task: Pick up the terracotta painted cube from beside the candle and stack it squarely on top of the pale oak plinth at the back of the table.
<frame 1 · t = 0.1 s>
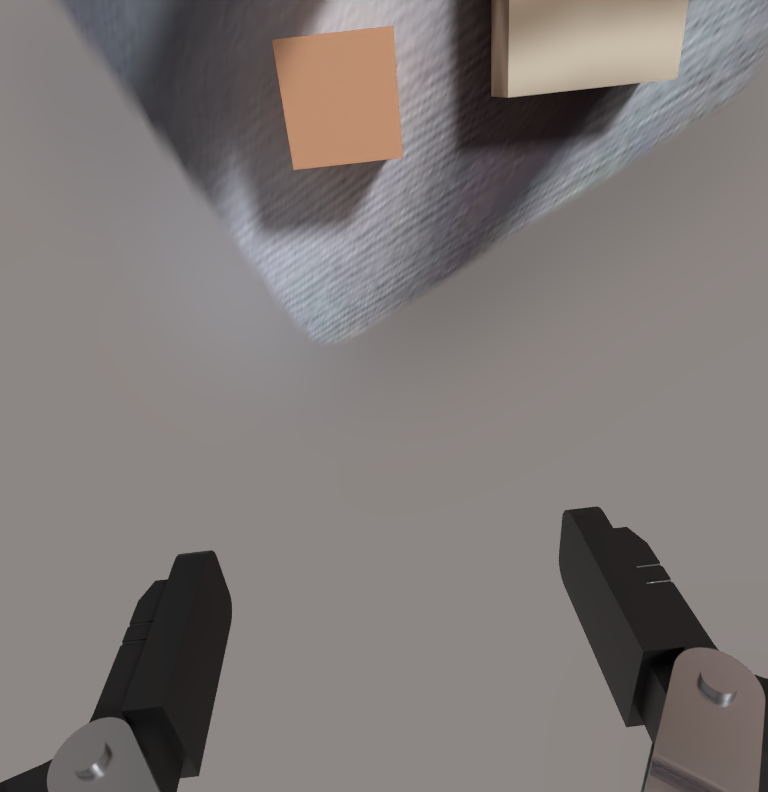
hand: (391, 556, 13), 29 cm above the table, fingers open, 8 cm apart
terracotta cube: (341, 99, 33), on the table
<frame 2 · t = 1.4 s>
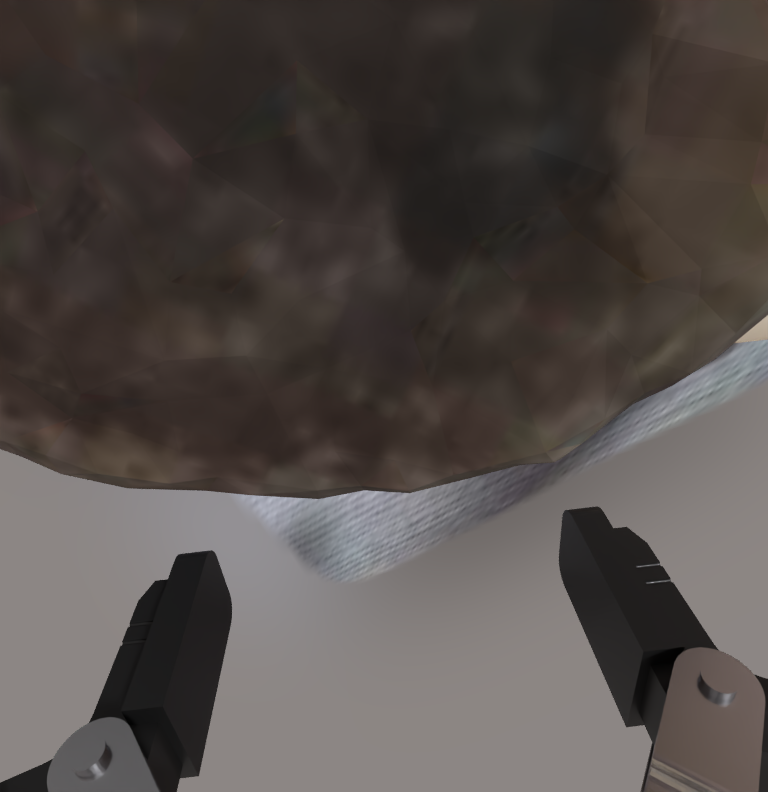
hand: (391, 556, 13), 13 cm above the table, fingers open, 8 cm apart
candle: (335, 21, 18), on the table
oak plinth: (702, 194, 22), on the table
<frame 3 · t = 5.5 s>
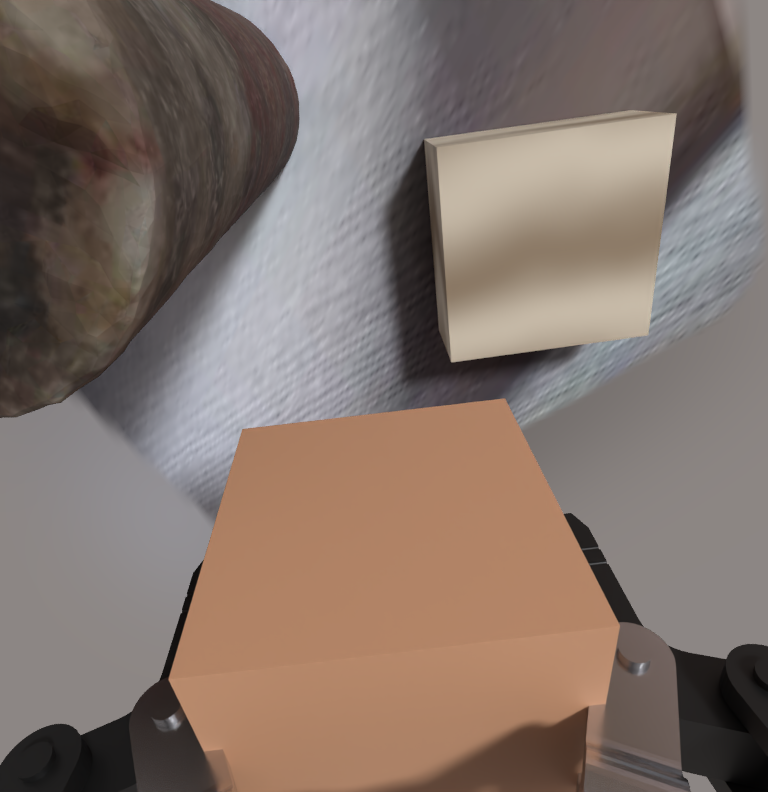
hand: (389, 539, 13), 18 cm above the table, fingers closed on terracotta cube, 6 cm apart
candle: (213, 109, 24), on the table
terracotta cube: (386, 513, 14), point 17 cm above the table, touching gripper
oak plinth: (526, 229, 27), on the table
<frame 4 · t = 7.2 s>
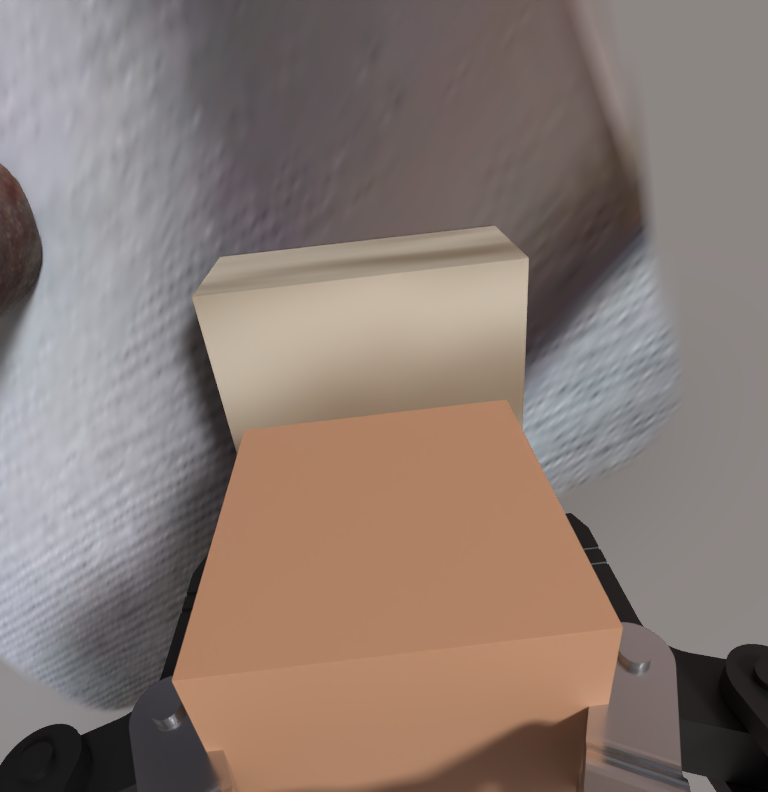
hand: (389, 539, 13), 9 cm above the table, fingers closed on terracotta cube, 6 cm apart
terracotta cube: (388, 513, 14), point 8 cm above the table, touching gripper
oak plinth: (372, 364, 21), on the table
when the fingers open (6 cm above the table, at t = 8.4 s): terracotta cube stays where it is, resting on oak plinth.
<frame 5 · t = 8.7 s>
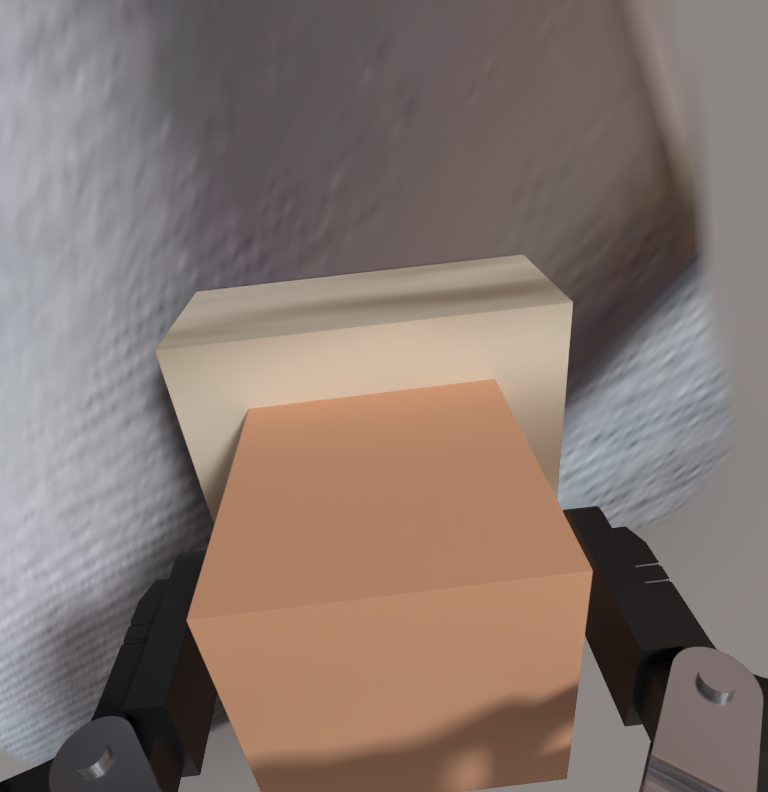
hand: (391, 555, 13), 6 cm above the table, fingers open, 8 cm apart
terracotta cube: (384, 489, 15), point 4 cm above the table, touching oak plinth
oak plinth: (376, 411, 18), on the table
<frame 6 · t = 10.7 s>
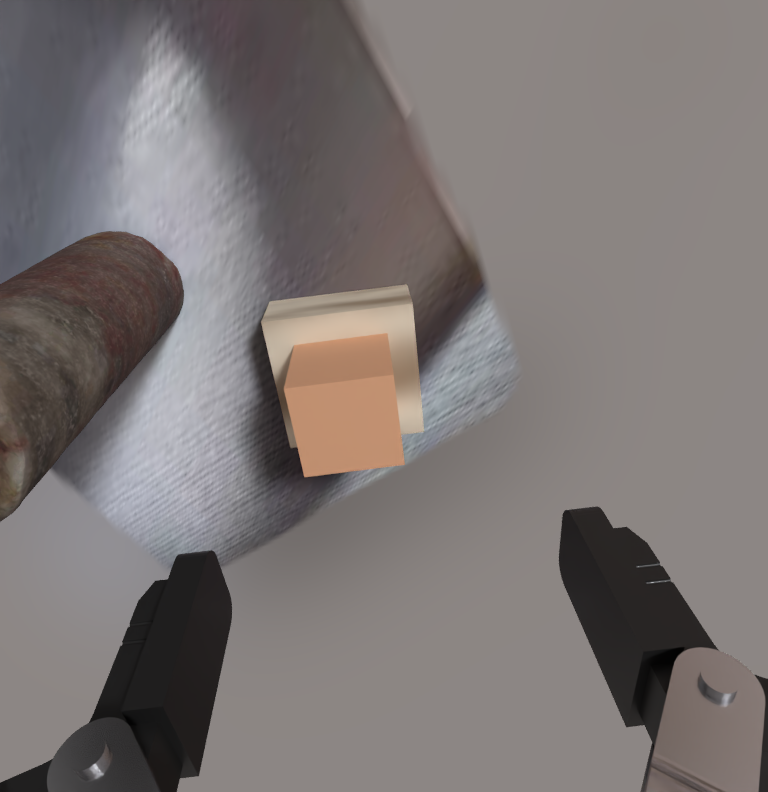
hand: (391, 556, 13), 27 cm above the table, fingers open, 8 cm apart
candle: (128, 283, 37), on the table
terracotta cube: (347, 380, 36), point 4 cm above the table, touching oak plinth
oak plinth: (348, 355, 40), on the table
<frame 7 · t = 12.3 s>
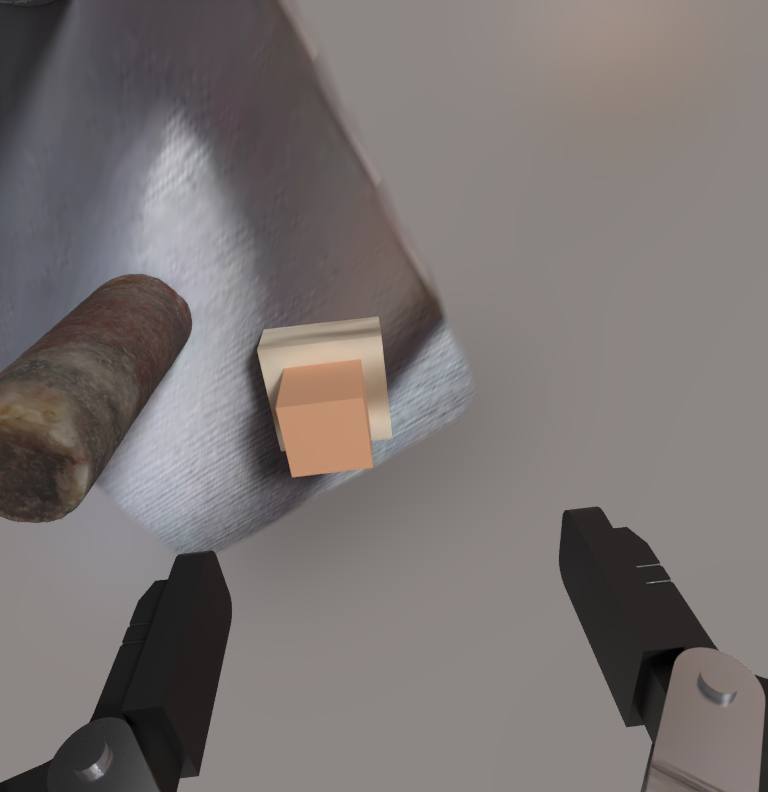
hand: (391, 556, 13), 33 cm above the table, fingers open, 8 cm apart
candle: (145, 314, 44), on the table
terracotta cube: (328, 396, 44), point 4 cm above the table, touching oak plinth
oak plinth: (329, 373, 47), on the table
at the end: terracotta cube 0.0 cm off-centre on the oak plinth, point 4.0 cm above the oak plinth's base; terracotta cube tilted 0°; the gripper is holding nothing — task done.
